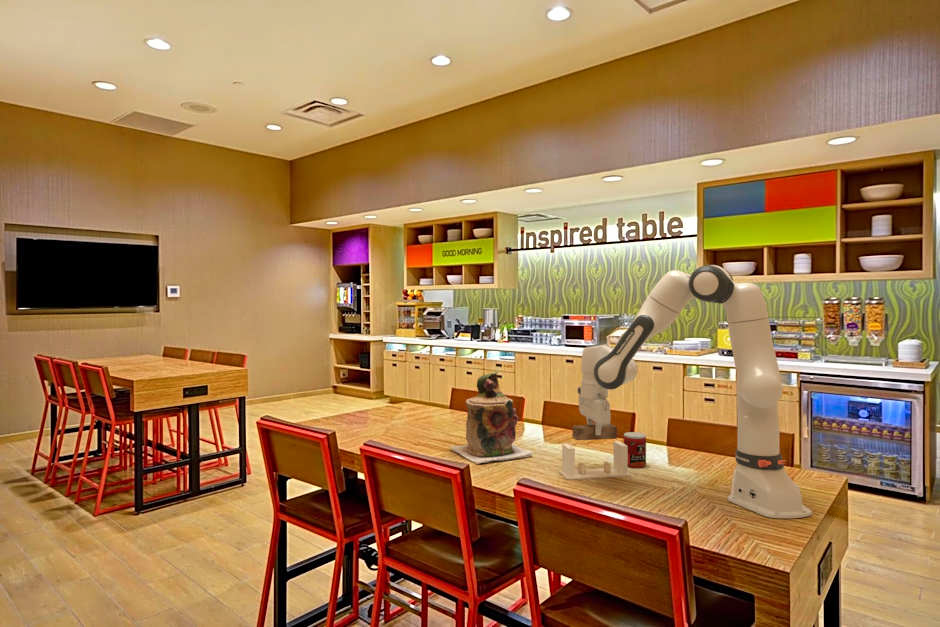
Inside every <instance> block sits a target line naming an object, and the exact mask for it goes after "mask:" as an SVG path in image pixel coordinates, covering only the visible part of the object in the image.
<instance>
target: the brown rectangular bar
mask: <svg viewBox="0 0 940 627" xmlns="http://www.w3.org/2000/svg"><path fill="white" fill-rule="evenodd" d="M595 427H596V425H595V424H594V425H588V424H581V425H580V424H579V425H577V424H576V425H572V435H571V436H572V438H573V439H574V440H575V441H593V440H617V439H618V427H617V426H616V425H614V424H612V423H610V424H609V425H603V426H602V429H601V435H596V434H595V433H594V429H595Z"/></svg>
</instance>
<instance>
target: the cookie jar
mask: <svg viewBox="0 0 940 627" xmlns="http://www.w3.org/2000/svg"><path fill="white" fill-rule="evenodd" d="M497 374H498V370H497V369H496V370H495V371H493V372H491V373H486V374H484V375H481V376H479V377H478V379H477V380H476V389H477V391H478V394H477V395H476V396H474V397H471V398H467V399H466V400H465V406H466V407H467V414H466V416H467V417H466V421H465V422H466V423H465V428H466V430H465V432H466V433H465V440H466V442H467V444H462V445H453V446H450V449H451V450H452V452H454V453H456V454H459V456H461V457H463V458H464V459H466V460H468V461H470V462H471V461H472V462H471V463H473V462H474V463H473V464H475V463H477V464H476V465H479V464H482V463H484V464H485V463H490V462H493V461H508V460H514V459H521V458H529V457H531V456H532V454H533V453H534V451H533V450H530V449H523V448H521V447H519V446H517V445H516V444H515V443H514V442H515V440H516V435H517V432H516V426H517V424H518V422H519V417H518V415H517V408H516V407H514V400H513V399H511V398H509V397H507V396H506V395H505V393H504V392H502V390H501V389H500V384H499V380H498V375H497Z"/></svg>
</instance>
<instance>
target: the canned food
mask: <svg viewBox="0 0 940 627" xmlns="http://www.w3.org/2000/svg"><path fill="white" fill-rule="evenodd" d="M623 444H625V445H627V446H628V468H633V469H642V468H645V467H646V465H647V434H645V433H642V432H637V431H635V432H634V431H629V432H625V433H624V434H623Z"/></svg>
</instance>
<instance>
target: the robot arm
mask: <svg viewBox="0 0 940 627" xmlns="http://www.w3.org/2000/svg"><path fill="white" fill-rule="evenodd" d="M695 298H696V299H697V300H699V301H702V302H706V303H714V304H720V305H722V306H723V308H724V310H725V314H726V319H727V321H726V322H727V327H728V333H729V340H730V345H731V346H730V347H731V351H732V357H733V361H734V366H735V372H736V376H737V377H736V413H737V417H736V418H737V448H736V449H735V462H736V466H735V469H734V470H733V472H732V479H731V491H730V495H728V496H727V501H728V502H730V503H732V504H735V505H737V506H740V507H741V508H745V509H747V510H750V511H751V512H754V513H756V514H758V515H762V516H764V517H766V518H771V519H798V518H806V517H810V516H812V514H813V512H812V510H811V509H810V508H809V507H807V506H806V505H804V504H803V499H802V493H801V490H800V487H799V485H798V484H796V483H795V481H793V480H792V478H791V476H790V475H789V474H788V473H787V471H786V470H785V465H787V463H786V462H787V460H786V459H783V457H782V453H781V452H780V437H781V436H780V430H781V428H780V418H779V406H778V402H780V400H781V398H782V396H783V391H784V389H783V383H782V378H781V372H780V369H779V364H778V360H777V355H776V350H775V347H774V341H773V337H772V336H773V335H772V330H771V325H770V318H769V313H768V308H767V304H766V300H765V299H764V294H763V292H762V290H761V288H760V287H759V286H758V285H757V284H755V283H752V282H735V281H734V279H733V276H732V274H731V273H730V272H729V271H728V270H727V269H725V268H723V267H721V266H719V265H716V264H709V265H708V264H705V265H701V266H699V267H698V268H696V269H694V270H693V272H692V273H691V274H688V273H686V272H684V271H681V270H677V269H674V270H673V269H672V270H670V271H668V272H666V273H665V274H664V275H663V276H662V277H661V278H660V279H659V281H658V282H657V283H656V284H655V285H654V286H653V287H652V290H651V291H650V292H649V294H648V295H647V297H646V298H645V300H644V302H643V304H642V305H641V307H640V309H639V311H638V312H637V314H636V316H635V317H634V319H633V321H632V323H631V324H630V326H629V327H628V329H627V330H626V331H625V332H624V334H623V335H622V336H621V338H620V340H619V341H618V342H617V344H616V345H615V346H614V348H613V349H612V348H610V347H609V346H608V345H607V344H605V343H597V344H589V345H586V346H585V347H584V348H583V349H582V350H583V351H582V353H581V354H582V355H581V364H580V365H581V366H580V367H581V374H582V377H581V382H580V384H581V385H580V386H578V387H577V394H578V410H579V413H580V414H581V415H582V416H583V417H585V418H586V423H587V424H586V425H596V427H595V429H594V433H595V434H596V435H601V429H602V426H603V425H609V424H611V419H612V418H611V406H610V402H609V401H608V400H607V399H608V398H609V390H616V389H618V388H619V387H621V386H623V385H625V384H628V383H630V382H631V381H633V380H634V379H635V378H636V376H637V374H638V364H637V361H635V360H634V357H635V356H636V354H637V353H638V352H639V351H640V349H641V348H642V346H643V345H644V344H645V343H646V342H647V341H648V340H650V339H651V338H653V337H654V336H656V335H658V334H659V333H662V332H664V331H665V330H667V329H668V328H669V327H671V325H672V324H673V323H674V322H675V321H676V320H677V318H678V317H679V316H680V314H681V313H682V311H683V310H684V308H685V306H687V304H688V303H689V302H690V301H691V300H693V299H695Z"/></svg>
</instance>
